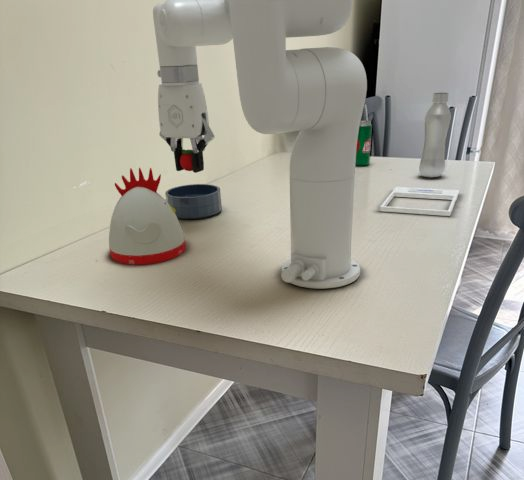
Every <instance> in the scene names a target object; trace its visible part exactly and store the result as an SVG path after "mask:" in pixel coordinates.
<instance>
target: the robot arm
mask: <svg viewBox="0 0 524 480" xmlns="http://www.w3.org/2000/svg"><path fill="white" fill-rule="evenodd" d="M352 7H353V0H165V1H164V2H163V1H162V2H158V3H156V4H155V5H154V6H153V7H152V18H153V19H152V20H153V26H154V33H155V41H156V50H157V57H158V64H159V65H158V66H159V69H158V70H157V73H156V74H157V77H158V78H160V81H161V84H158V90H157V91H158V92H157V110H158V111H157V112H158V122H159V130H160V131H159V137H160V138H161V139H163V140H164V141H165V142H166V144H167V145H168V147H170V151H171V152H173V155H174V157H173V158H174V164H175V170H176V172H180V171H185V170H184V169H183V168H182V167H181V165H180V157H181V155H182V154H183V153H182V151H183V150H185V149H184V139H189V140H190V144H191V145H190V146H191V150H193V152H194V153H191V158H192V168H193V171H192V172H193V173H194V174H198V173H200V172H202V171H204V170H205V164H204V163H205V162H204V152H205V150H206V147H207V146H208V145H209V143H210V142H212V141H213V140H214V139H215V134H214V132H213V131H212V128H211V127H210V120H209V112H208V106H207V100H206V96H205V91H204V88H203V84H202V83H201V82H200V77H199V76H200V75H199V68H198V67H199V66H198V56H197V49H196V48H197V47H206V46H207V47H209V46H221V45H222V46H223V45H226V44H228V43H230V42H231V41H232V42H233V51H234V60H235V68H236V70H235V71H236V78H237V87H238V95H239V101H240V106H241V109H242V114H243V117H244V118H245V120H246V122H247V124H248V125H249V127H250V128H251V129H253V130H254V131H255V132H257V133H260V134H262V135H278V134H286V133H293V132H298V135H297V137H296V139H295V141H294V143H293V147H292V149H291V153H290V158H289V223H290V225H289V226H290V227H289V228H290V229H289V230H290V259H288V260H286V261H285V262H284V263H283V264H282V265H281V273H280V277H281V280H282V281H283V282H285V283H289V284H292V285H294V286H297V287H301V288H307V289H317V290H319V289H322V290H324V289H325V290H326V289H335V288H340V287H344V286H347V285H350V284H351V283H353V282H355V281H356V280H358V279H359V277H360V275H361V266H360V264H359V263H358V261H356V260H354V259H353V258H352V239H353V219H354V218H353V217H354V199H355V198H354V197H355V179H356V177H355V176H356V166H355V163H356V148H357V139H358V132H359V126H360V121H362V116H363V112H364V108H365V104H366V99H367V98H366V97H367V91H368V79H367V73H366V69H365V67H364V64H363V62H362V61H361V59H360V58H359V57H358V56H357V55H356V54H354V53H353V52H352V51H349V50H347V49H345V48H341V47H330V46H326V47H323V46H322V47H309V48H308V47H307V48H305V47H304V48H297V49H287V47H286V46H287V45H286V43H287V39H288V38H289V39H290V38H303V37H306V38H307V37H320V36H327V35H331V34H333V33H336V32H338V31H340V30H341V29H342V28H343V27H344V26H345V25H346V24H347V22H348V20H349V18H350V16H351V12H352V9H353V8H352Z"/></svg>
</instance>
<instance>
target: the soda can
mask: <svg viewBox="0 0 524 480" xmlns="http://www.w3.org/2000/svg"><path fill="white" fill-rule="evenodd" d="M372 128H373V125H372V121H371V120H366V119H365V120H363V119H361V121H360V126H359V132H358V139H357V148H356V163H355V167H367V166H369V164H370V161H371V148H372V147H371V145H372V131H373V130H372Z"/></svg>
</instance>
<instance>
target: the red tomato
mask: <svg viewBox="0 0 524 480" xmlns="http://www.w3.org/2000/svg"><path fill="white" fill-rule="evenodd" d="M182 153H183V154H182V155H181V157H180V165H181V167H182V168H183V169H184V170H183V171H187V172H193V168H192V158H191V153H194V152H193V149H184V150H183V151H182Z"/></svg>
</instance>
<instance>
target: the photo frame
mask: <svg viewBox="0 0 524 480" xmlns="http://www.w3.org/2000/svg"><path fill="white" fill-rule="evenodd" d="M459 195H460V190H459V189H445V188H444V189H442V188H427V187H425V188H424V187H409V186H407V187H406V186H395V187H394V189H393V190H392V191H391V192H390V194H388V196H387V197H386V199H384V201H383V202H382V203H381V204H380V206H379V212H388V213H399V214H401V213H402V214H415V215H416V214H417V215H429V216H443V217H444V216H445V217H451V216H452V212H453V210H454V207H455V204H456V202H457V200H458V197H459ZM394 197H398V198H399V197H401V198H415V199H431V200H446V201H447V200H448V201H451V202H450V204H449V206H448V209H447V210H445V209H431V208H430V209H429V208H417V207H404V206H403V207H402V206H388V205H389V204H390V203H391V201H392V200H393V198H394Z"/></svg>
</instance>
